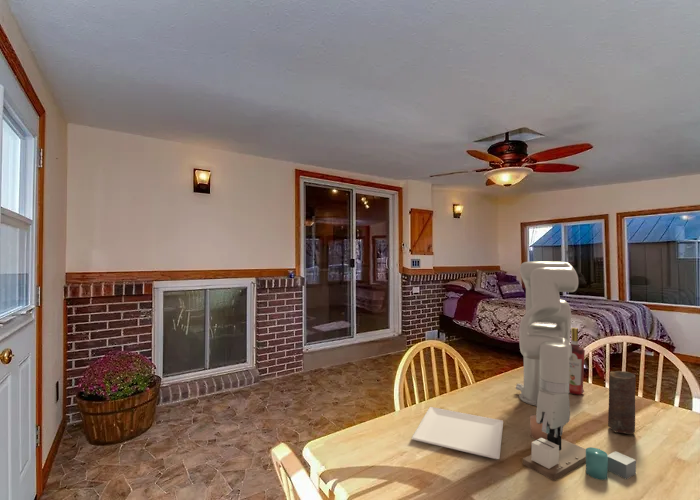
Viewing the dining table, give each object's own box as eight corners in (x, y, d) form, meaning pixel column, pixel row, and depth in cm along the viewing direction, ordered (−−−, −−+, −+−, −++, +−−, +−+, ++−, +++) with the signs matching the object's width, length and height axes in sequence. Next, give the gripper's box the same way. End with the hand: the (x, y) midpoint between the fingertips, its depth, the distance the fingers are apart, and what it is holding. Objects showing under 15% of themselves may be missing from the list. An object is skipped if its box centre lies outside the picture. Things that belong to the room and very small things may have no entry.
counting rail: (522, 463, 104) (522, 457, 104) (562, 443, 115) (562, 438, 115) (553, 480, 96) (553, 474, 96) (593, 457, 107) (593, 451, 107)
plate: (503, 425, 127) (503, 420, 127) (499, 465, 104) (499, 458, 104) (429, 411, 139) (429, 406, 139) (411, 444, 115) (411, 437, 115)
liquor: (562, 392, 156) (562, 328, 156) (568, 388, 161) (567, 325, 161) (582, 397, 151) (581, 330, 151) (587, 392, 156) (586, 328, 156)
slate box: (606, 469, 101) (606, 455, 101) (615, 464, 104) (615, 451, 104) (626, 479, 97) (626, 465, 97) (635, 474, 99) (635, 460, 99)
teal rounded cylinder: (582, 472, 100) (582, 450, 100) (591, 466, 103) (591, 445, 103) (602, 482, 96) (602, 459, 96) (611, 476, 98) (611, 454, 98)
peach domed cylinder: (527, 435, 120) (527, 417, 120) (535, 431, 123) (536, 413, 123) (541, 441, 116) (541, 423, 116) (550, 437, 119) (550, 419, 119)
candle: (640, 438, 118) (640, 377, 118) (615, 436, 119) (615, 376, 120) (627, 427, 125) (627, 370, 126) (603, 425, 127) (603, 368, 127)
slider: (531, 459, 103) (531, 441, 103) (541, 454, 105) (541, 437, 105) (548, 468, 99) (548, 450, 99) (558, 463, 101) (558, 445, 101)
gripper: (555, 376, 112) (555, 436, 112) (526, 386, 104) (526, 450, 104) (581, 384, 105) (581, 447, 105) (552, 395, 97) (553, 463, 97)
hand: (554, 448), depth 104 cm, fingers closed
